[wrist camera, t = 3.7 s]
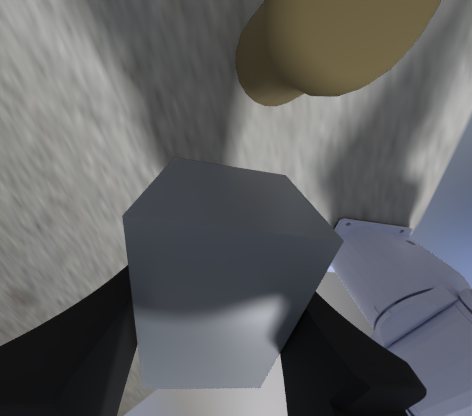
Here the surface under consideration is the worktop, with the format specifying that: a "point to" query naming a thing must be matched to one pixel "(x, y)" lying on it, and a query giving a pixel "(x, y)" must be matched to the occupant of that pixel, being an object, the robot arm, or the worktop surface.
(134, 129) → the worktop surface
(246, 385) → the grey rectangular block
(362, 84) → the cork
